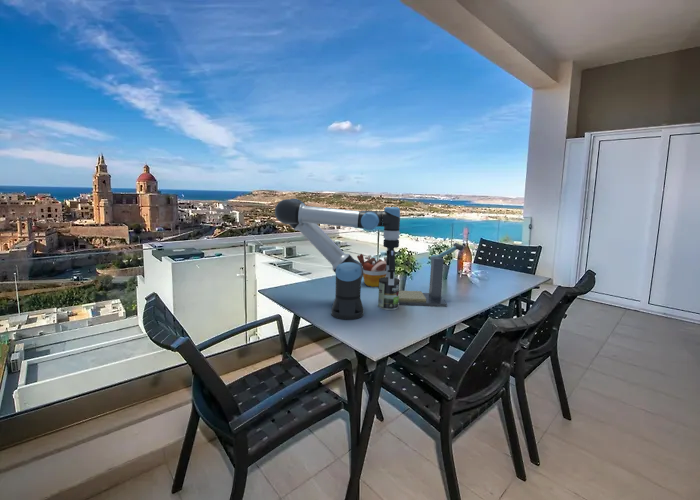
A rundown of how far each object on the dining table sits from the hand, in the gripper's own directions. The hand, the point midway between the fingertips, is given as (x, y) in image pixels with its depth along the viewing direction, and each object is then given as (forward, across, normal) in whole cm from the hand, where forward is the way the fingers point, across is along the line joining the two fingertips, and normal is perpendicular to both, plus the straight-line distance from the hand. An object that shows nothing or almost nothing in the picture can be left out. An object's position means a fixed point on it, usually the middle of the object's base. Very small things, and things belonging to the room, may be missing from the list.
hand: (389, 281), depth 159 cm
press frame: (+13, +12, -18) cm, 25 cm away
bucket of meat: (+13, +40, +6) cm, 43 cm away
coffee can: (+13, 0, 0) cm, 13 cm away
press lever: (-10, +18, -33) cm, 39 cm away
